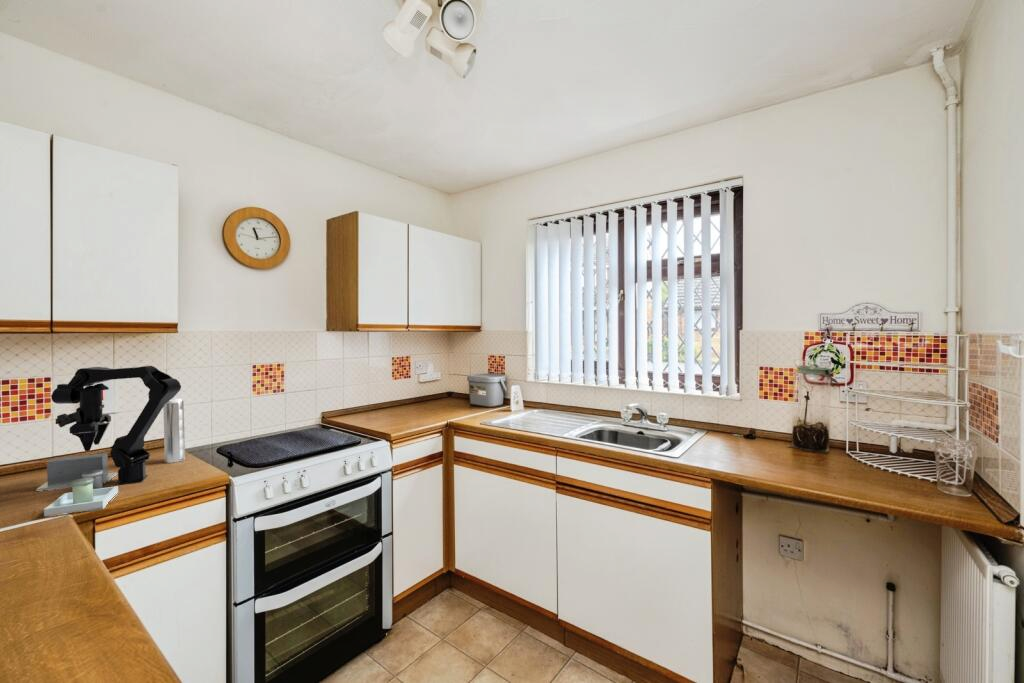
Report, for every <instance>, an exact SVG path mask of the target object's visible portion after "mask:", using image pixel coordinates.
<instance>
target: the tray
mask: <svg viewBox="0 0 1024 683" xmlns="http://www.w3.org/2000/svg"><path fill="white" fill-rule="evenodd" d="M117 493H118V494H119V486H118V485H116V486H110V487H109V486H108V487H102V488H100V489H93V502H86V503H79V504H73V491H71V492H64V493H63V494H62V495H61V496H59V497H58V498H57V499H55V500H54V501H53V502H51V504H49V505H48V506H46V507H45V508H43V517H44V516H48V515H53V514H59V513H72V512H77V511H87V512H93V511H100V510H104V509H105V508H106V507H107V506H108V505H109V504H108V502H109V501H110V500H111V499H112V498H113V497H114V496H115V495H116V494H117ZM118 494H117V495H118ZM117 495H116V496H117ZM116 496H115V497H116ZM115 497H114V498H115ZM114 498H113V499H114ZM113 499H112V500H113ZM112 500H111V501H112ZM107 504H108V505H107ZM106 505H107V506H106ZM88 510H89V511H88Z"/></svg>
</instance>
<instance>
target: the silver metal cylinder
mask: <svg viewBox="0 0 1024 683" xmlns="http://www.w3.org/2000/svg"><path fill="white" fill-rule="evenodd" d="M184 402H185V400H182V398H172V399H171V400H169V401H168V402H167V403H166V404H165V405H164V406H163V408H162V410H163V437H164V438H163V440H164V441H163V442H164V463H166V462H167V464H173V462H174V463H179V462H183V461H184V460H186V441H185V440H186V439H185V436H186V435H185V408H184V407H185V406H184Z"/></svg>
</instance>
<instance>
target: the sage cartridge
mask: <svg viewBox="0 0 1024 683" xmlns="http://www.w3.org/2000/svg"><path fill="white" fill-rule="evenodd" d="M93 482H94V481H93V478H82V479H78V480H74V481H72V482H71V486H72V487H71V488H72V489H71V490H72V491H71V492H73V504H79V503H86V502H93Z"/></svg>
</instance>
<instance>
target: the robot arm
mask: <svg viewBox="0 0 1024 683" xmlns="http://www.w3.org/2000/svg"><path fill="white" fill-rule="evenodd" d="M74 373H75V374H74V376H73V377H72V378H71V380H69V382H68V383H61V384H60V383H58V384H57V385H56V388H54V390H53V391H52V392H51V393H52V394H51V395H50V396H51V397H50V398H51V400H52V402H53V403H54V404H58V405H59V404H60V405H61V404H70V405H71V404H73V405H74V404H79V405H78V407H77V408H76V409H75V412H71V413H68V414H67V413H65V412H64V413H62V414H59V415H57V417H56V418H55V422H54V423H55V425H58V426H59V428H64V427H66V426H67V425H70V424H72V425H71V426H70V427H69V434H71V435H72V436H76V437H77V438H79V440H80V443H81V445H82V447H83V450H84V451H85V452H89V451H90V450H91V449H92V446H93V444H94V445H95V446H96V445H100V444H101V443H100V442H101V441H102V439H103V437H104V435H105V433H106V430H108V427H109V425H110V422H112V416H111V415H110V414H108V413H105V414H104V413H103V408H105V404H103V391H106V390H110V388H109V386H107V385H105V384H104V382H108V381H111V380H123V379H141V380H142V382H143V385H144V386H145V387H146V388H148V389H149V391H148V394H147V395H148V401H147V402H146V404H145V406H144V407H143V409H142V411H141V412H140V413H139V416H137V419H136V420H135V422H134V423H133V425H132V427H131V428H130V430H129V432H127V434H125V435H122V436H120V437H117V438H116V439H115V440H114V442H113V444H112V446H110V447H109V449H111V450H110V451H109V456H110V457H111V459H112V461H113V463H114V466H115V468H119V469H118V470H117V477H118V478H117V479H118V480H117V481H118V485H126V484H125V483H127V484H133V482H135V483H141V481H142V482H143V481H144V480H146V478H147V477H148V475H147V474H146V473H147V472H146V461H148V460H150V456H151V453H150V452H148V451H147V450H146V449H145V448H144V446H145V437H146V435H147V434H148V431H149V430H150V429H151V427H152V426H153V424H154V422H155V420H156V419H157V418H158V416H159V414H160V412H161V411H162V410H163V406H164V405H165V404H166V403H167V402H168V401H169V400H171V399H174V397H176V395H178V393H179V392H180V391H181V389H182V386H181V383H180V381H179V380H178V379H176V378H173V377H172V376H171V375H169V374H168V373H165V372H164V371H161V370H159V369H158V368H157V367H155V366H153V365H144V366H135V367H133V366H132V367H124V368H123V367H121V368H109V367H103V366H91V367H82V368H79V369H77V370H76V372H74ZM73 423H74V424H73Z"/></svg>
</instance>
